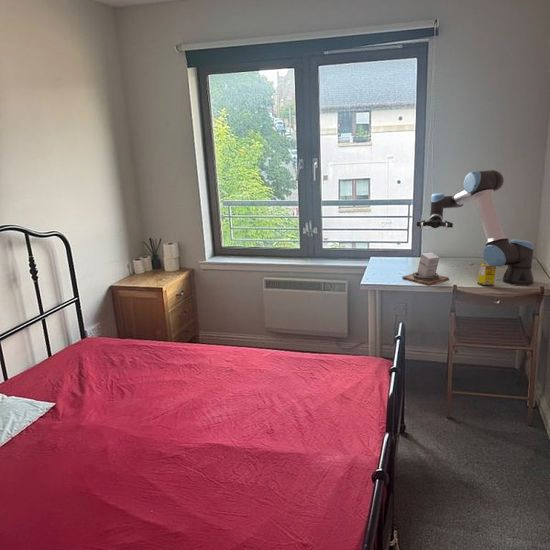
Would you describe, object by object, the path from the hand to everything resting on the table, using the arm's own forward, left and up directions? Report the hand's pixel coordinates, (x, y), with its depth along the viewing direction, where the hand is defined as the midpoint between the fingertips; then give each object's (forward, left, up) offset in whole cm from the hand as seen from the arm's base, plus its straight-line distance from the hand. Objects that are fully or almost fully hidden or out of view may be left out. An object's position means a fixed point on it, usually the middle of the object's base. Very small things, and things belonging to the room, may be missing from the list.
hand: (433, 226), depth 283 cm
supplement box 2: (-33, -3, -28) cm, 43 cm away
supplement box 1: (-5, +11, -26) cm, 29 cm away
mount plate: (-5, +12, -28) cm, 31 cm away
